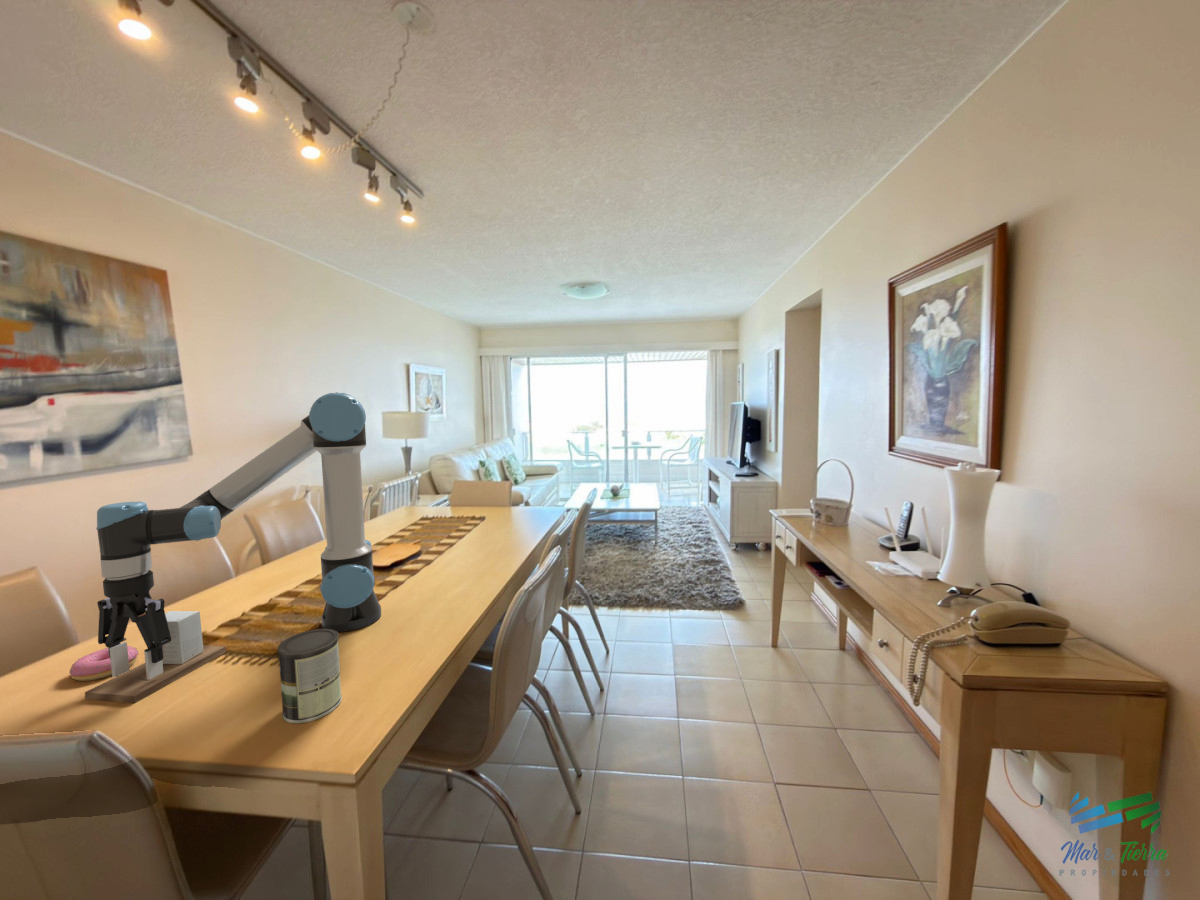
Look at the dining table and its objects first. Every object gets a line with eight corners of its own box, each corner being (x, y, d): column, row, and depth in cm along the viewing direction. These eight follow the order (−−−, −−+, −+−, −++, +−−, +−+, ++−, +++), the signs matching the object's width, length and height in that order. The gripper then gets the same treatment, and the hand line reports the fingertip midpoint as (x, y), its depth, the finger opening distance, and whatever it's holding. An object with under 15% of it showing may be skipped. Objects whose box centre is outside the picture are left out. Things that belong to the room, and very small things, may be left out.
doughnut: (109, 657, 111) (108, 641, 111) (152, 658, 111) (151, 642, 111) (54, 684, 100) (52, 666, 100) (102, 684, 100) (100, 666, 100)
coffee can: (270, 726, 86) (265, 655, 85) (301, 692, 96) (297, 629, 95) (326, 722, 87) (322, 652, 86) (351, 690, 97) (347, 627, 96)
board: (225, 652, 113) (225, 646, 113) (134, 703, 93) (134, 696, 93) (183, 649, 114) (183, 643, 114) (85, 699, 95) (84, 692, 95)
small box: (204, 652, 110) (201, 610, 109) (181, 665, 105) (178, 621, 104) (174, 651, 111) (170, 610, 110) (149, 663, 105) (145, 620, 104)
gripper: (188, 569, 100) (197, 667, 101) (107, 566, 102) (117, 662, 104) (151, 582, 92) (160, 688, 94) (64, 578, 95) (76, 681, 97)
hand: (138, 674), depth 99 cm, fingers open, 8 cm apart
